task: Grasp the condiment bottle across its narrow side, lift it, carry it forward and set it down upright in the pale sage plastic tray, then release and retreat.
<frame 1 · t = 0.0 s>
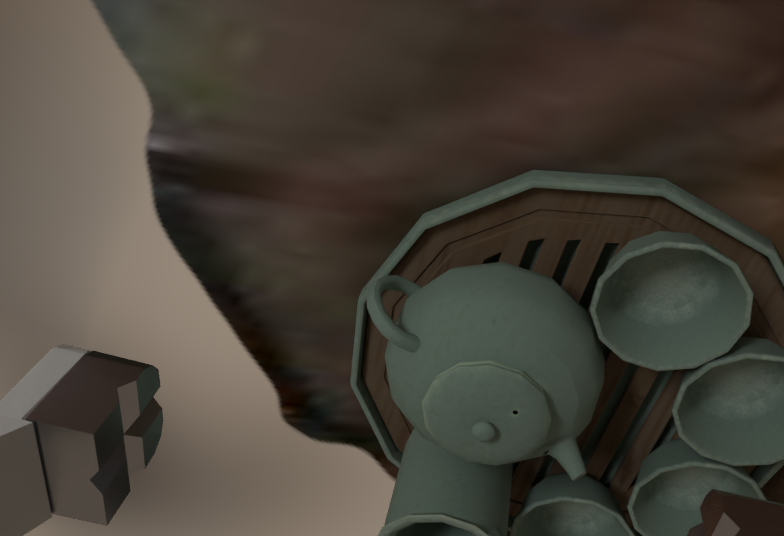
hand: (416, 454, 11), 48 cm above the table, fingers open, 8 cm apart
tea set: (571, 360, 68), on the table
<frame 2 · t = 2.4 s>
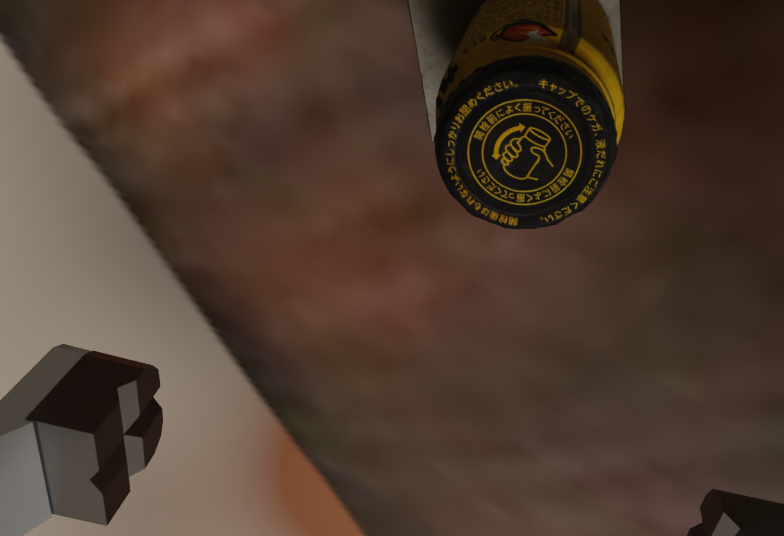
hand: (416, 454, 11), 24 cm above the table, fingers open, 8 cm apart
condiment: (516, 46, 32), on the table
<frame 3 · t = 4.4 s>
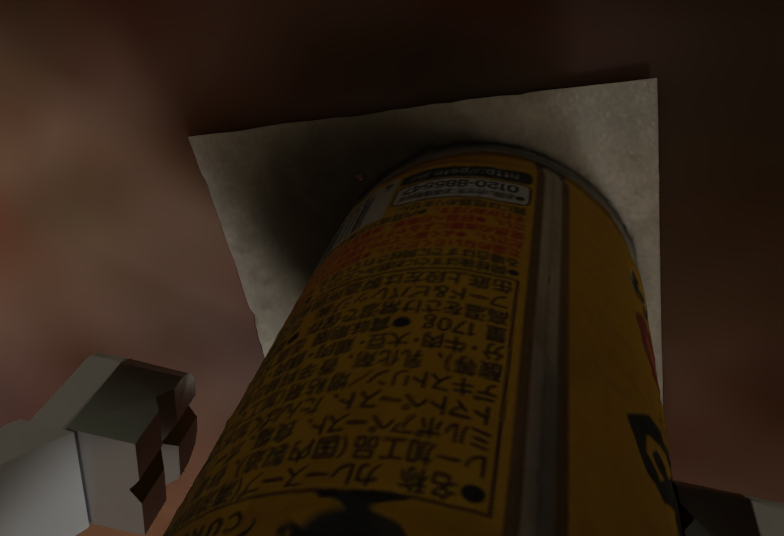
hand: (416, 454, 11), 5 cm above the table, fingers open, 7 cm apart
condiment: (439, 273, 15), on the table, touching gripper
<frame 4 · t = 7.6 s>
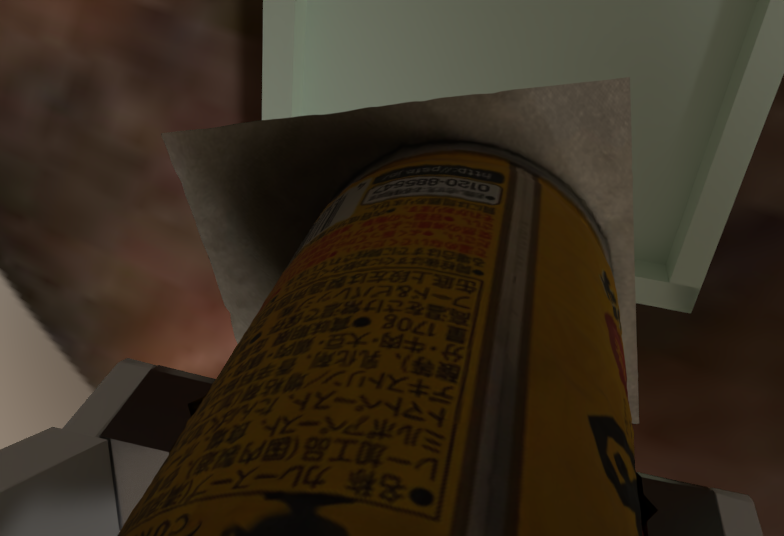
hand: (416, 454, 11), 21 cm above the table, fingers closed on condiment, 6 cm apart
tray: (507, 66, 28), on the table
condiment: (415, 272, 15), point 16 cm above the table, touching gripper
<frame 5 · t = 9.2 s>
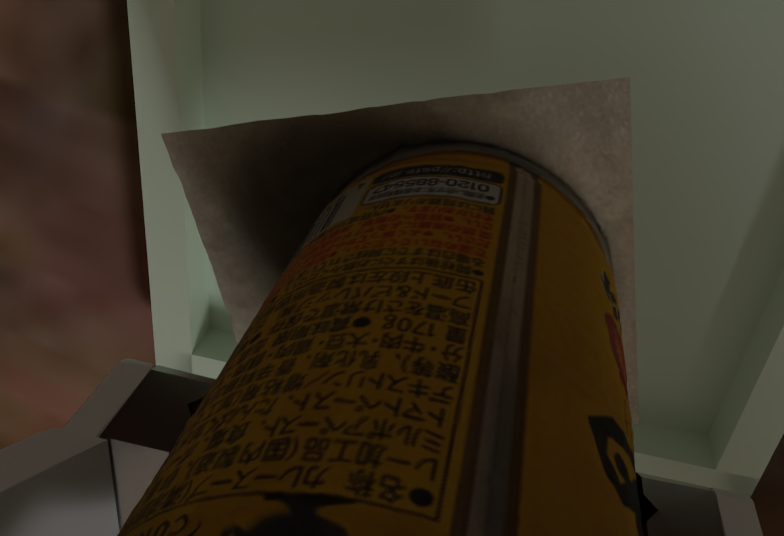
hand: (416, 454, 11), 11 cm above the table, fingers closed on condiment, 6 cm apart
tray: (488, 171, 20), on the table
condiment: (415, 272, 15), point 6 cm above the table, touching gripper
when the fingers open (7 cm above the table, at t = 10.6 s): condiment drops 1 cm, resting on tray.
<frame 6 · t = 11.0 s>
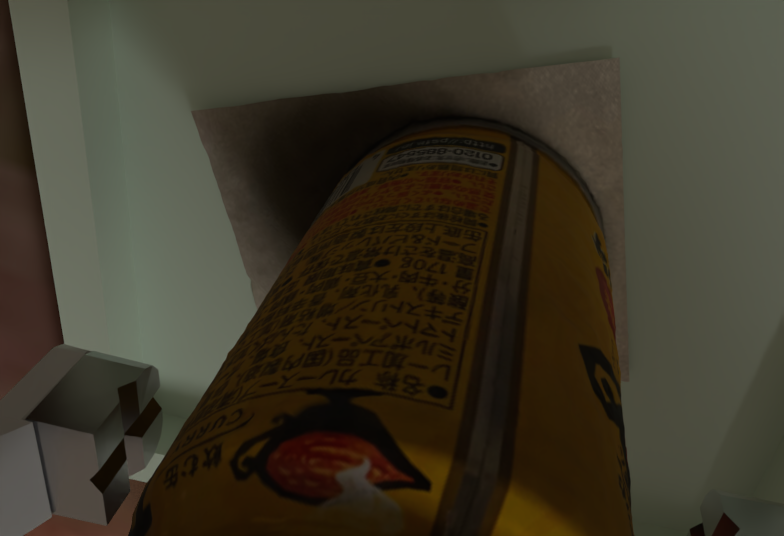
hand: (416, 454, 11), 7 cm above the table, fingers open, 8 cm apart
tray: (467, 239, 17), on the table
condiment: (423, 241, 16), resting on tray
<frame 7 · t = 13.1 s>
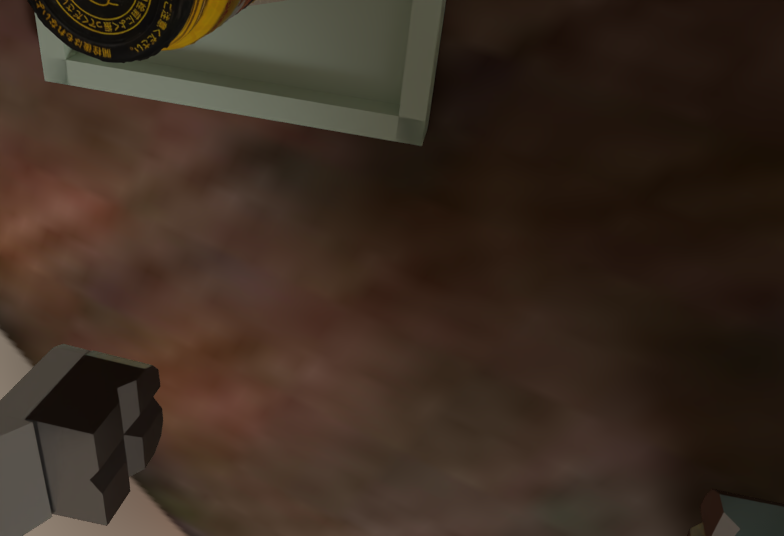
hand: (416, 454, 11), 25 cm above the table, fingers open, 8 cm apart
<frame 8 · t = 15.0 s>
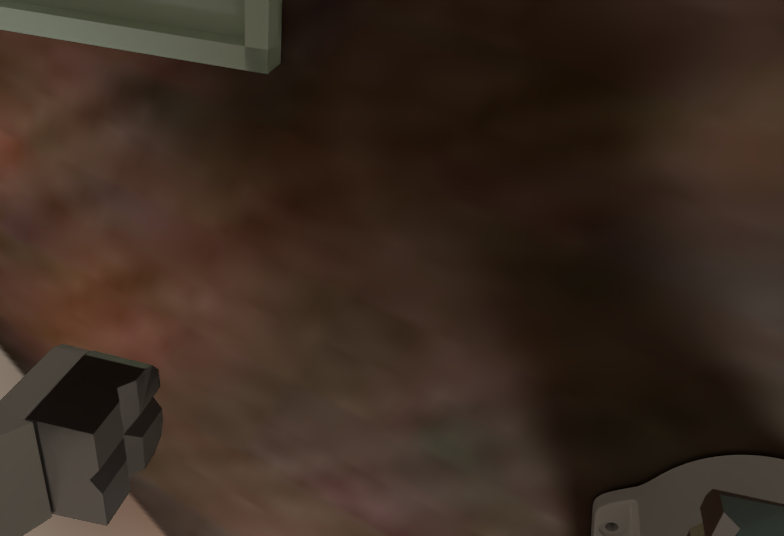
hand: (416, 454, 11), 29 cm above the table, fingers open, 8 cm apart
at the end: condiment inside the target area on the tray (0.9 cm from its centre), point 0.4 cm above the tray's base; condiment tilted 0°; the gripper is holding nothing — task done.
